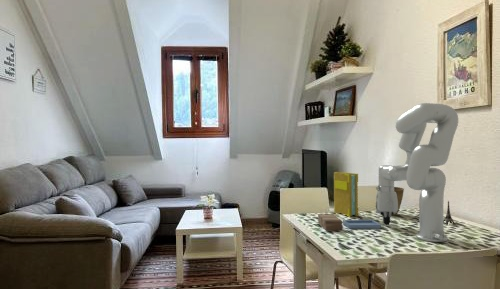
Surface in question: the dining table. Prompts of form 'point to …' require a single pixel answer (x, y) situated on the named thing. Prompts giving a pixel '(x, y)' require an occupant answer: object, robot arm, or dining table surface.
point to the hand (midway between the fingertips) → (386, 224)
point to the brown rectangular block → (330, 222)
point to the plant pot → (398, 197)
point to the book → (346, 193)
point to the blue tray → (361, 224)
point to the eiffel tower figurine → (448, 216)
